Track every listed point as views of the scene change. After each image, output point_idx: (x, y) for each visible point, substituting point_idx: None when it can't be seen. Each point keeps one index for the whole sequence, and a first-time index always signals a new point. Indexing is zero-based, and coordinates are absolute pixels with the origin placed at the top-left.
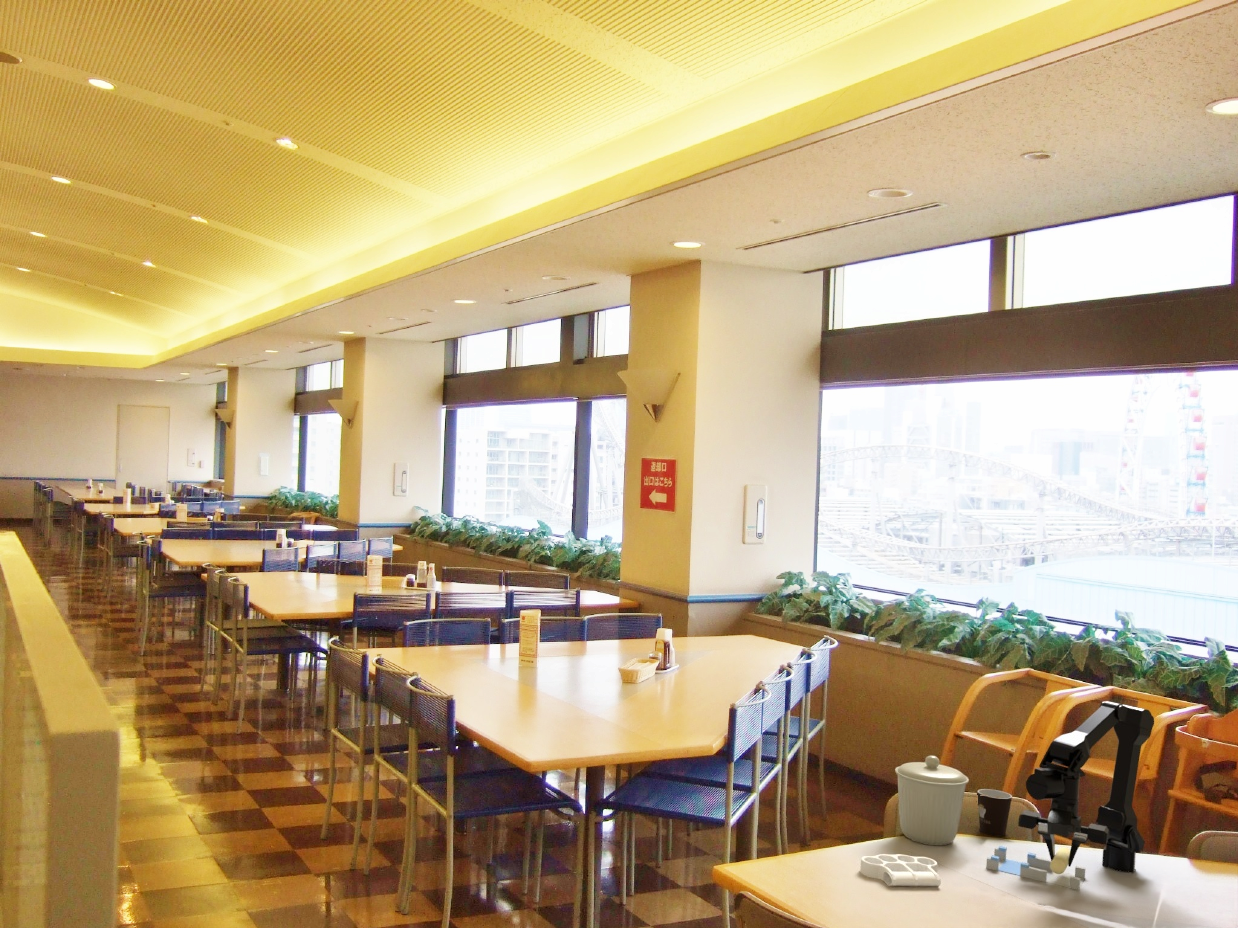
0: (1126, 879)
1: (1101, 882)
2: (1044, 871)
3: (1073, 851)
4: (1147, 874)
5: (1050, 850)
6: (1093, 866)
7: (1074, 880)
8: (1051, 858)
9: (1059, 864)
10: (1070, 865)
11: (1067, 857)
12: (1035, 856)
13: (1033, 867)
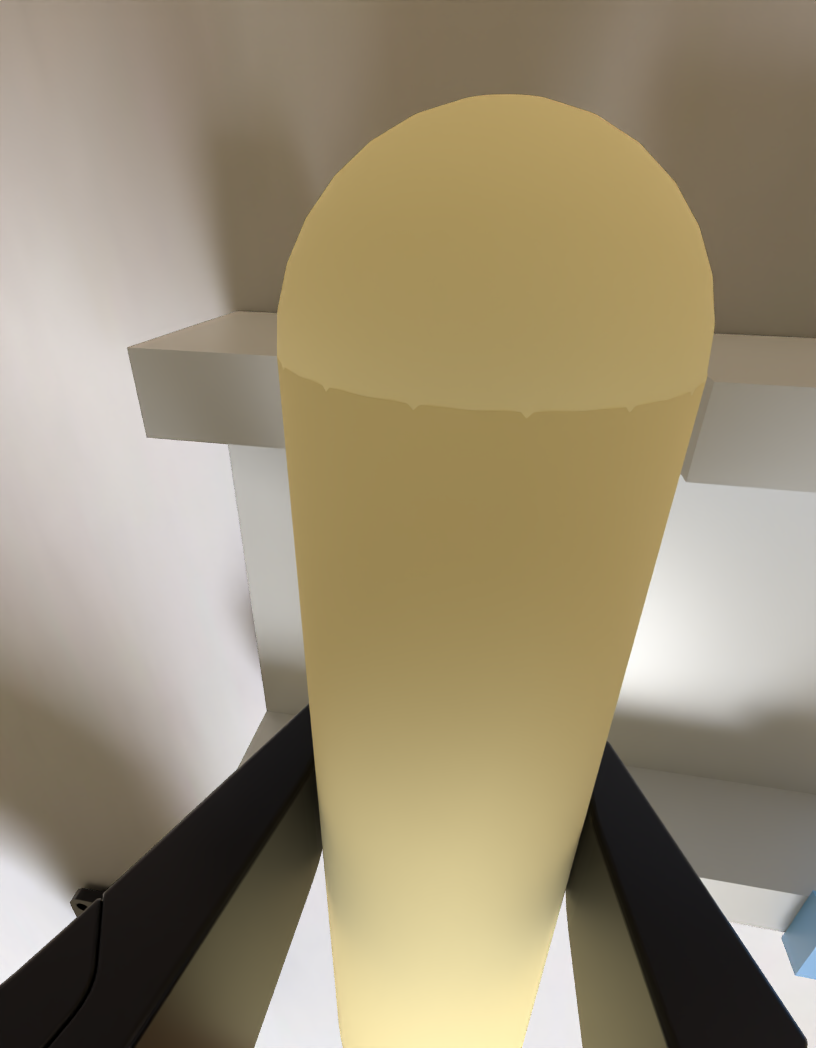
0: (99, 861)
1: (186, 755)
2: (745, 399)
3: (86, 965)
4: None
5: (707, 966)
6: (310, 966)
7: (218, 342)
8: (628, 789)
9: (408, 164)
10: (307, 705)
11: (328, 837)
12: (788, 929)
13: (769, 778)
